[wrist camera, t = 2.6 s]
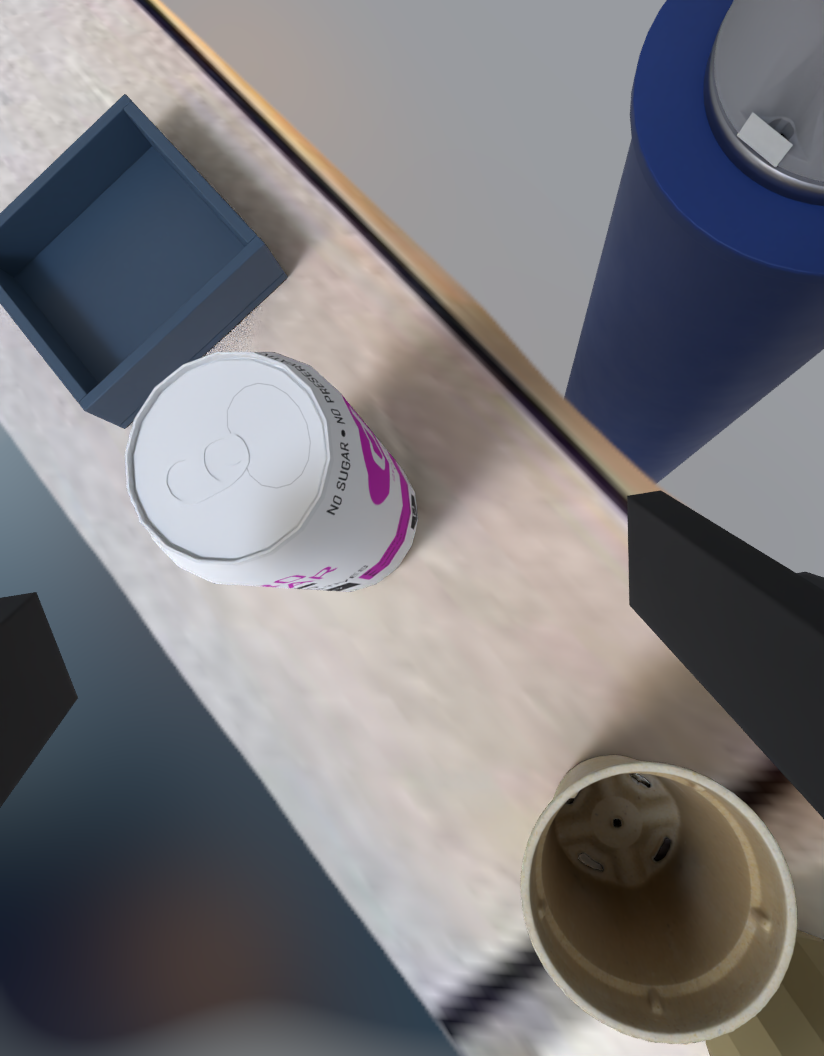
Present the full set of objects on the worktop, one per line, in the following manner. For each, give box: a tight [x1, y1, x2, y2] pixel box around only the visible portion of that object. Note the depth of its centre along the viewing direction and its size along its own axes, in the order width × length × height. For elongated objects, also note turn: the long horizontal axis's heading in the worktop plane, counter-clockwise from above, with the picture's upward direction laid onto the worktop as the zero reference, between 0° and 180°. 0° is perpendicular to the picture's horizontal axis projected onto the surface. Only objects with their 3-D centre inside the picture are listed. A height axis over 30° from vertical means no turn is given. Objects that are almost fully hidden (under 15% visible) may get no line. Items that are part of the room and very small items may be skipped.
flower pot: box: [521, 755, 797, 1044], centre depth 26 cm, size 9×9×9 cm
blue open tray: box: [0, 94, 287, 429], centre depth 37 cm, size 13×13×4 cm
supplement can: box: [125, 352, 418, 592], centre depth 27 cm, size 8×8×15 cm
